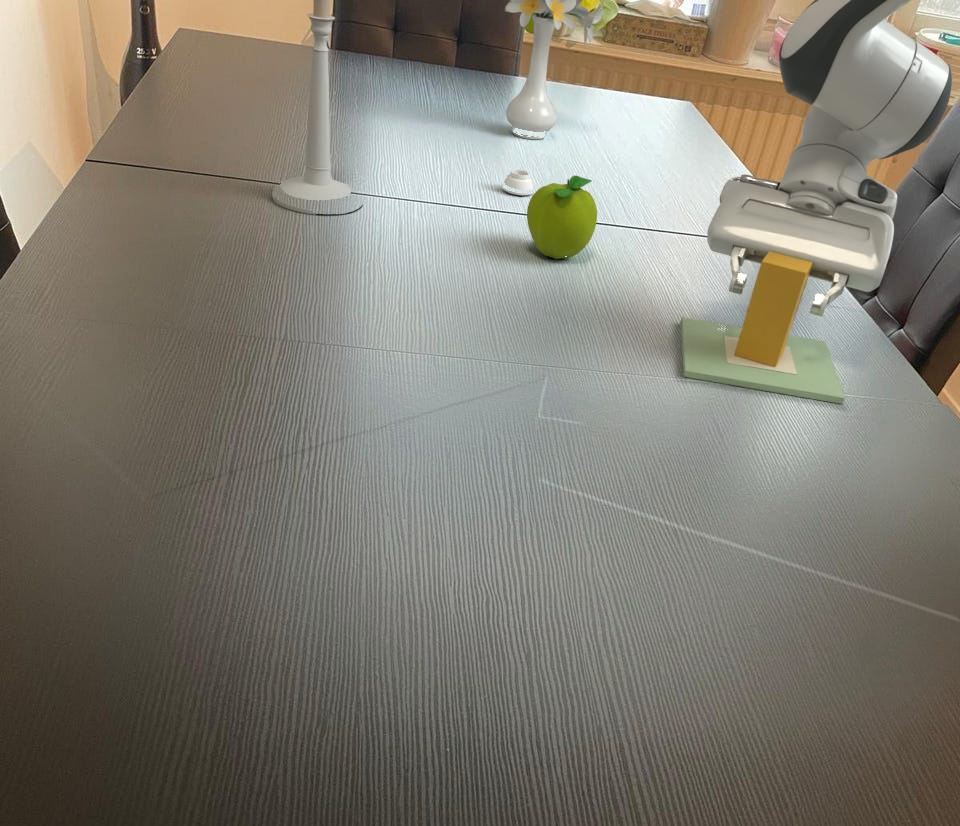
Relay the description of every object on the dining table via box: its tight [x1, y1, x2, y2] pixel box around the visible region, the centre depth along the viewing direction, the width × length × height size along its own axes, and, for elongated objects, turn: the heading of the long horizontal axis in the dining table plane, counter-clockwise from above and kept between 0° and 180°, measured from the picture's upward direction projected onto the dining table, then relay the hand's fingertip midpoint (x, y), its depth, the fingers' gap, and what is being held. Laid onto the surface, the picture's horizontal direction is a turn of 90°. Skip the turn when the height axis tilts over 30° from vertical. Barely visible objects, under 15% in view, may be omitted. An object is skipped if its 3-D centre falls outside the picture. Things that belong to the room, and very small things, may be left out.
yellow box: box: [734, 251, 813, 367], centre depth 116 cm, size 5×5×11 cm
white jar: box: [501, 169, 535, 197], centre depth 160 cm, size 5×3×5 cm
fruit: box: [526, 175, 598, 260], centre depth 137 cm, size 9×9×10 cm
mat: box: [680, 316, 845, 405], centre depth 120 cm, size 18×16×1 cm
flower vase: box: [504, 0, 606, 141], centre depth 181 cm, size 13×18×25 cm
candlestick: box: [271, 0, 351, 216], centre depth 136 cm, size 13×13×30 cm
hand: (775, 301), depth 115 cm, fingers open, 8 cm apart
